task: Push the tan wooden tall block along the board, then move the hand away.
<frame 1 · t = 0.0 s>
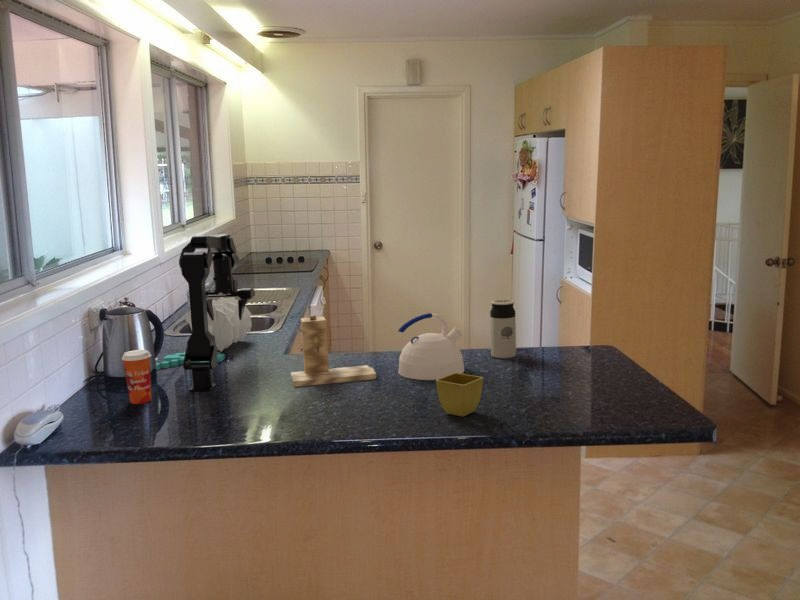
hand: (226, 320, 243), 15 cm above the countertop, tool pointing down, fingers open, 9 cm apart
kettle: (431, 372, 226), on the countertop
flower pot: (460, 413, 186), on the countertop
board: (332, 378, 222), on the countertop
travel mug: (503, 356, 240), on the countertop
alien figure: (193, 363, 250), on the countertop
paper cup: (141, 401, 207), on the countertop
spiral staircase: (222, 347, 270), on the countertop
tan wooden tall block: (316, 374, 223), point 1 cm above the countertop, touching board
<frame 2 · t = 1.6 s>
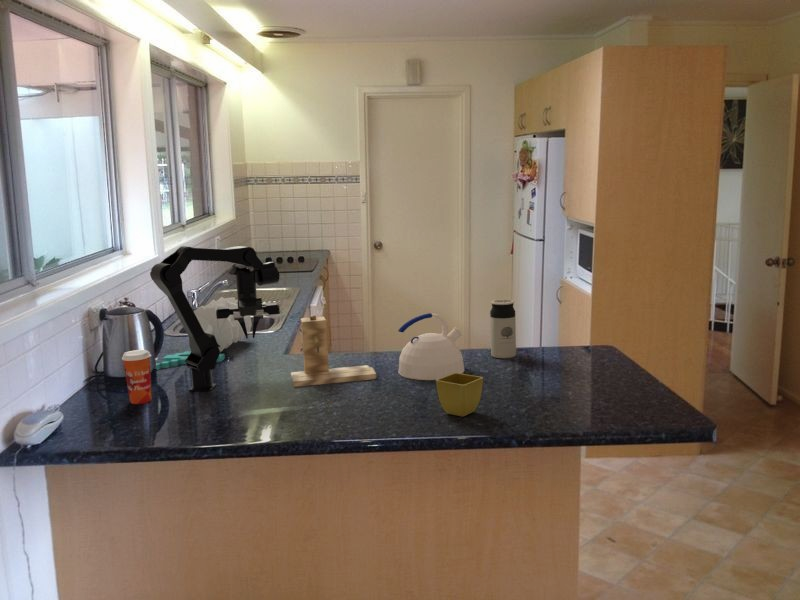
hand: (250, 338, 226), 12 cm above the countertop, tool pointing down, fingers closed
nothing on the countertop moved.
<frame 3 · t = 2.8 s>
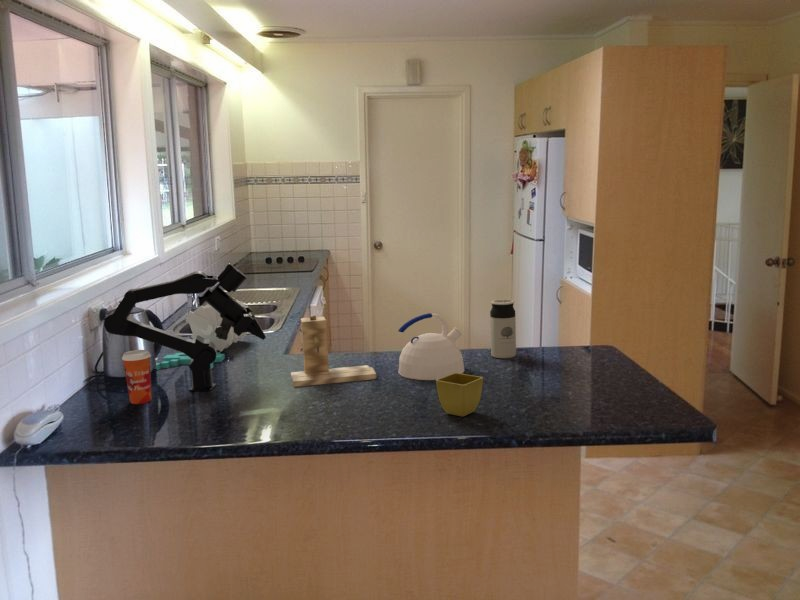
hand: (264, 338, 219), 13 cm above the countertop, tool tilted 45°, fingers closed
nothing on the countertop moved.
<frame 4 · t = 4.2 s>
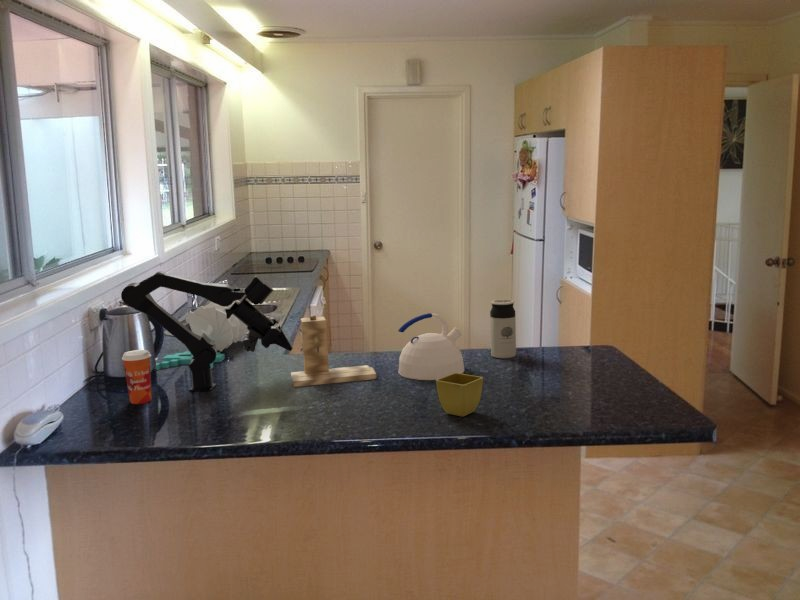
hand: (291, 349, 221), 9 cm above the countertop, tool tilted 45°, fingers closed
nothing on the countertop moved.
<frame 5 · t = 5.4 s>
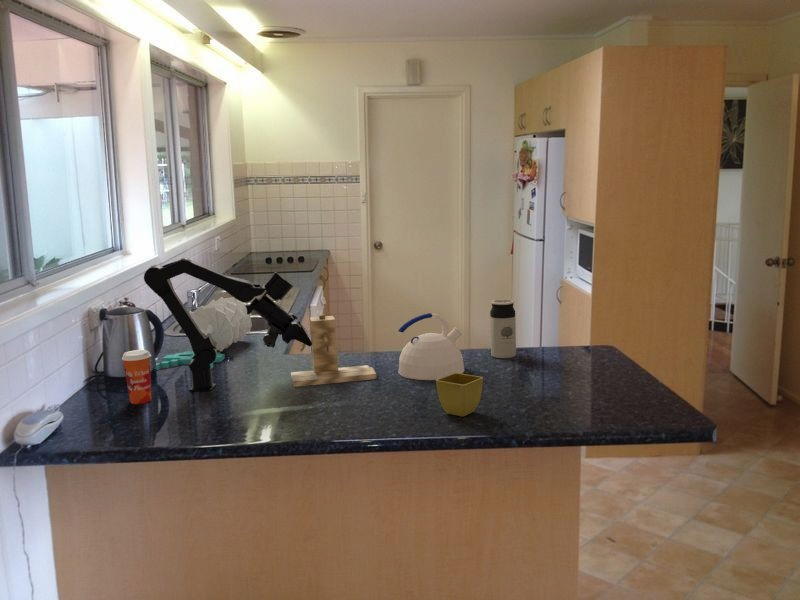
hand: (311, 345, 222), 10 cm above the countertop, tool tilted 45°, fingers closed, pressing on tan wooden tall block
tan wooden tall block: (325, 373, 224), point 1 cm above the countertop, touching gripper
everything else where it was.
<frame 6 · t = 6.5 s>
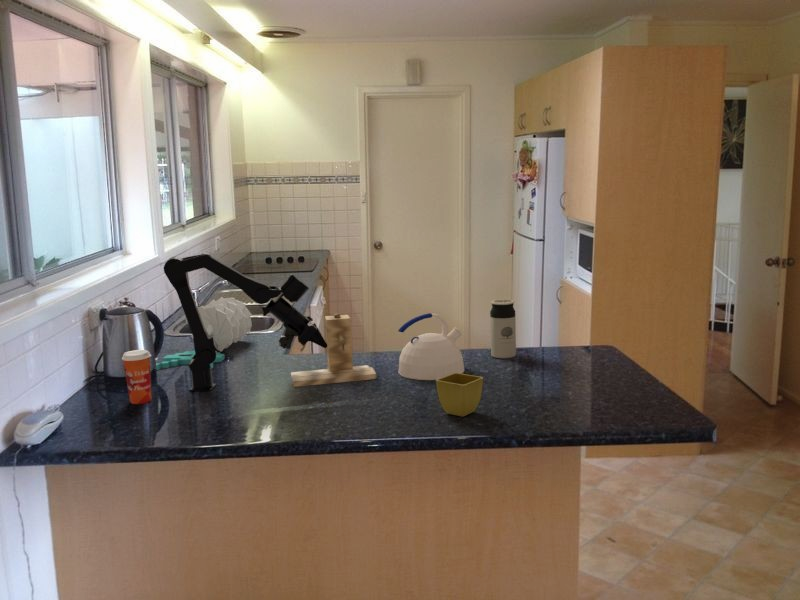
hand: (326, 346, 223), 9 cm above the countertop, tool tilted 45°, fingers closed, pressing on tan wooden tall block
tan wooden tall block: (340, 372, 225), point 1 cm above the countertop, touching board, gripper
everything else where it was.
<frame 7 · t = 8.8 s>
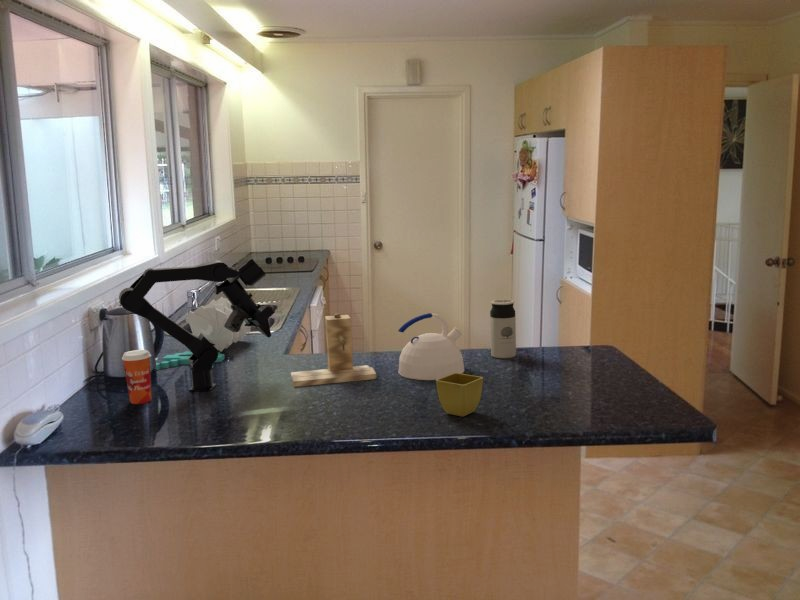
hand: (269, 336, 223), 13 cm above the countertop, tool tilted 35°, fingers closed
tan wooden tall block: (340, 372, 225), point 1 cm above the countertop, touching board
everything else where it was.
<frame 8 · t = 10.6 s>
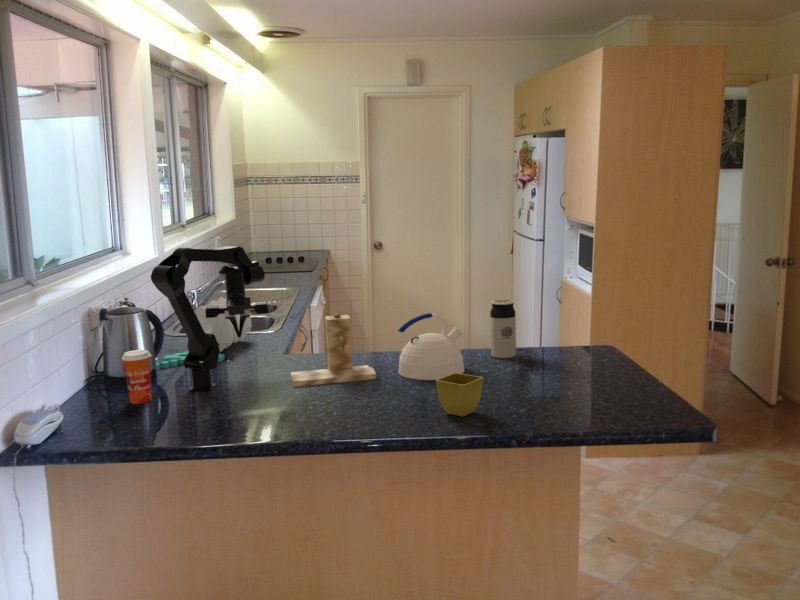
hand: (239, 337, 228), 12 cm above the countertop, tool pointing down, fingers closed
nothing on the countertop moved.
at the end: tan wooden tall block moved 7.3 cm from its start; tan wooden tall block tilted 0°; tan wooden tall block 4.0 cm from the board (horizontally) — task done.
